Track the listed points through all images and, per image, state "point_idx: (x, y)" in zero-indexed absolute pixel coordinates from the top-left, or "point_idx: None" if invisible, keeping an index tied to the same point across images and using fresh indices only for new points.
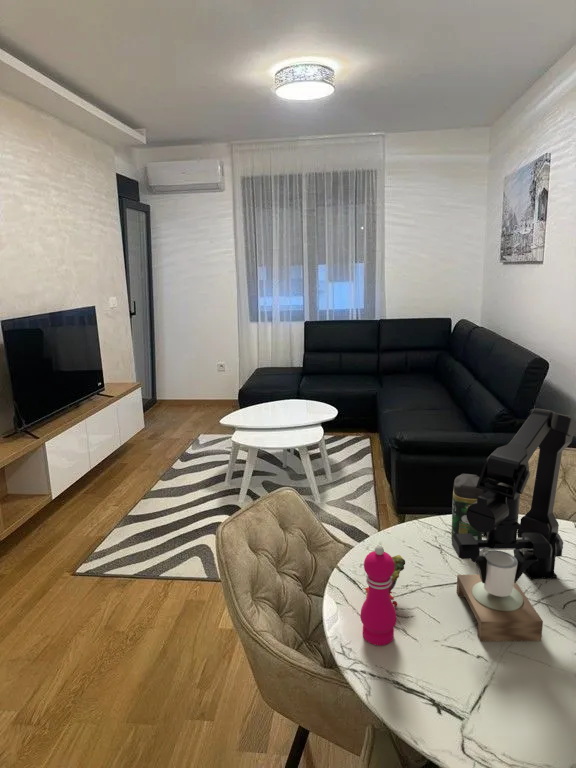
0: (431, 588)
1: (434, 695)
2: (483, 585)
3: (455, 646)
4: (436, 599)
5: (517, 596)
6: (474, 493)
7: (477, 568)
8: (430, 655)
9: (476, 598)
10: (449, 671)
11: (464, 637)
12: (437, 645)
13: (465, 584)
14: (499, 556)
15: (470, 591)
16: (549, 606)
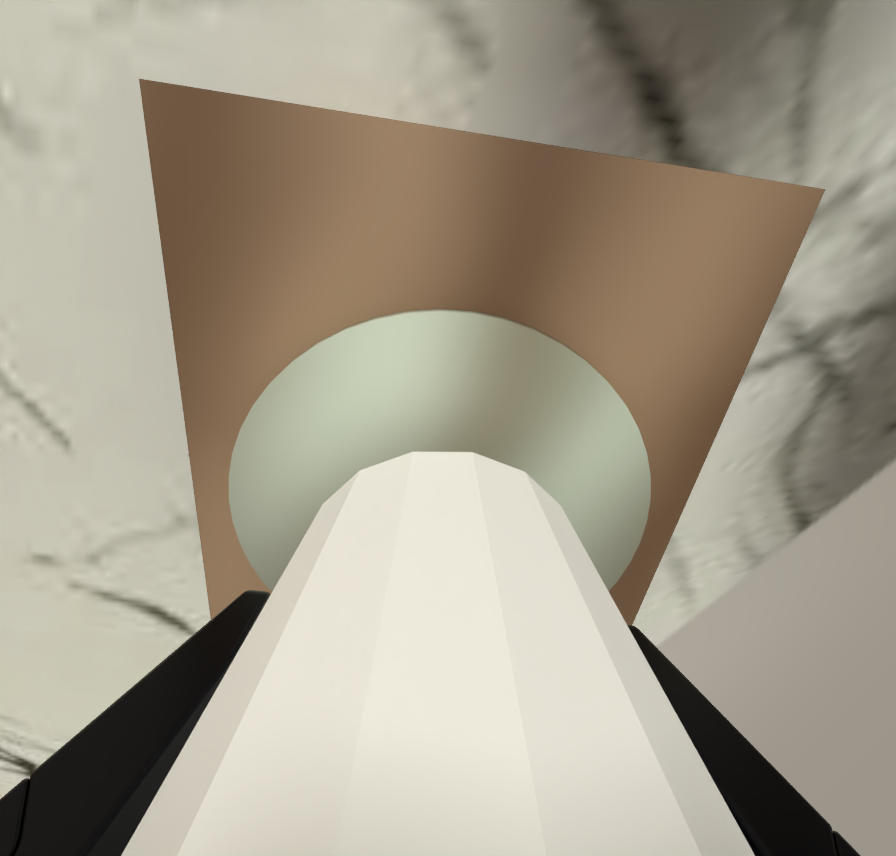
0: (6, 2)
1: (34, 754)
2: (376, 387)
3: (140, 598)
4: (54, 200)
5: (592, 559)
6: None
7: (94, 722)
8: (16, 627)
9: (242, 541)
10: (96, 692)
11: (197, 558)
12: (50, 585)
13: (204, 310)
14: None
15: (228, 425)
16: (831, 400)
